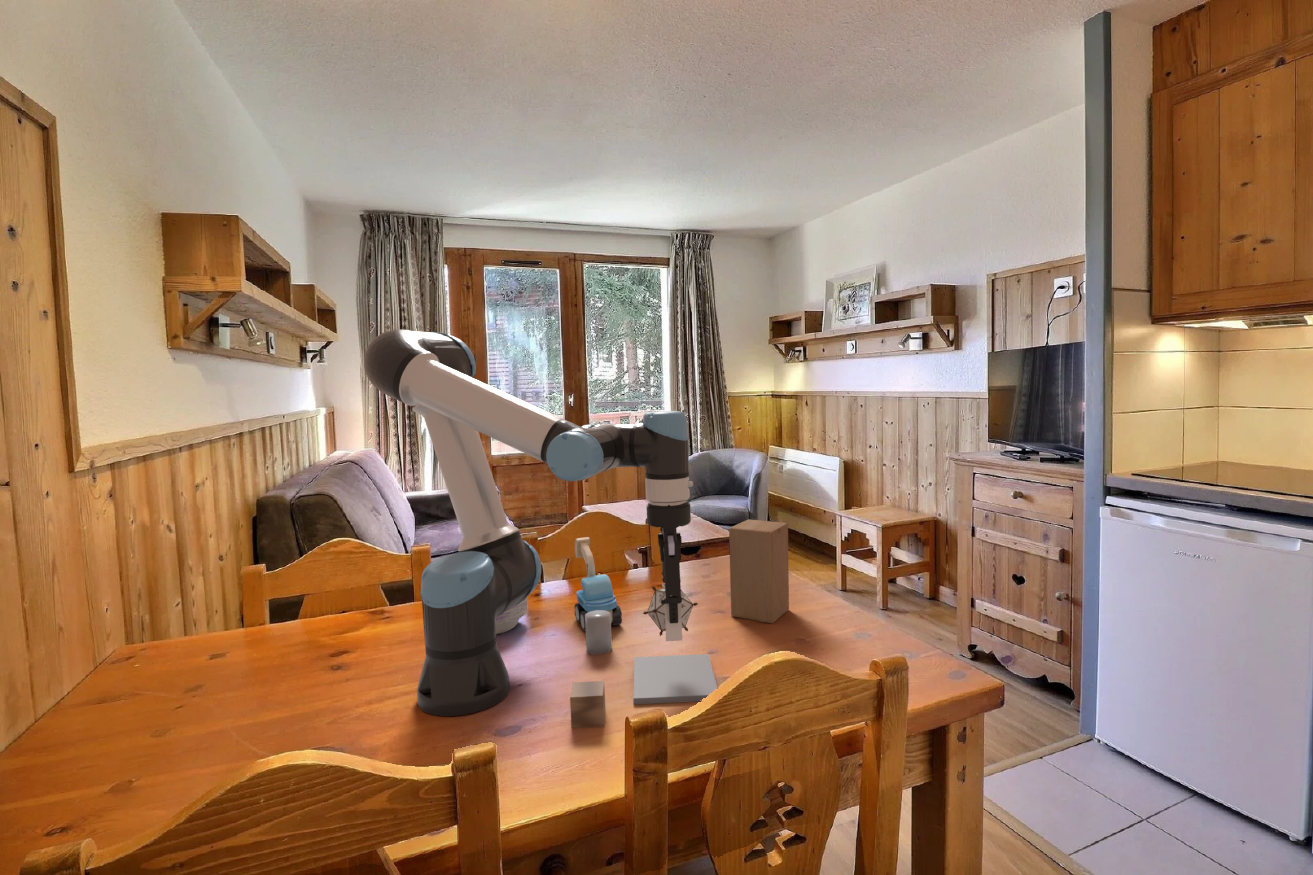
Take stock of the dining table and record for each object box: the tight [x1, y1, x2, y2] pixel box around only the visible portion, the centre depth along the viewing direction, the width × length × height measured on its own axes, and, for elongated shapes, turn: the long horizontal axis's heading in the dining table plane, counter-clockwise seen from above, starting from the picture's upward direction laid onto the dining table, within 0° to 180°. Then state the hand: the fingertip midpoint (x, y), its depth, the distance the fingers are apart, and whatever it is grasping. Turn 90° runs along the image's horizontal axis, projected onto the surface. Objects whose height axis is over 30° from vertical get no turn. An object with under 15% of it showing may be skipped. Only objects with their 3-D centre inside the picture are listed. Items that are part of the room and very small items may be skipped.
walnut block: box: [569, 680, 606, 729], centre depth 103 cm, size 5×5×5 cm
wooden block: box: [728, 519, 790, 624], centre depth 146 cm, size 10×10×20 cm
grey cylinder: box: [585, 610, 613, 655], centre depth 129 cm, size 5×5×7 cm
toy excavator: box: [574, 536, 623, 632], centre depth 146 cm, size 9×17×17 cm, turn 21°
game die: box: [642, 583, 698, 637], centre depth 114 cm, size 9×8×10 cm
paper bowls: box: [495, 597, 529, 635], centre depth 143 cm, size 15×15×8 cm
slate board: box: [632, 653, 718, 705], centre depth 115 cm, size 14×16×1 cm
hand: (672, 629), depth 114 cm, fingers closed on game die, 9 cm apart
